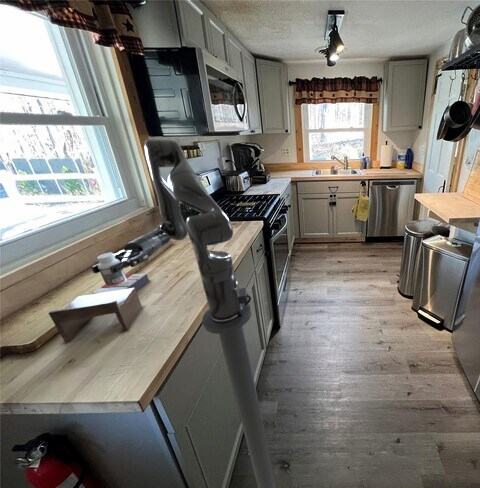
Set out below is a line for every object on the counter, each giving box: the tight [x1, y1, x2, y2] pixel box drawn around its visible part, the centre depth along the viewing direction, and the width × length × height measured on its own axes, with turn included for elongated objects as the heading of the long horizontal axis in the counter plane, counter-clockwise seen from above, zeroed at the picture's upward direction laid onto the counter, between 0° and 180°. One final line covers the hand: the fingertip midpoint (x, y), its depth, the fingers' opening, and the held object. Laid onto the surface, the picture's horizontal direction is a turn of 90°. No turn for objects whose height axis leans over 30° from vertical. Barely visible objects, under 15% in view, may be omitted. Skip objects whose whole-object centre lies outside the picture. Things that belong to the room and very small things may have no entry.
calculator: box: [91, 273, 150, 294], centre depth 98 cm, size 11×4×15 cm
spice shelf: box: [48, 288, 143, 343], centre depth 80 cm, size 16×12×10 cm
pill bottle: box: [96, 252, 127, 287], centre depth 79 cm, size 5×5×10 cm
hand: (102, 270), depth 77 cm, fingers closed on pill bottle, 5 cm apart
